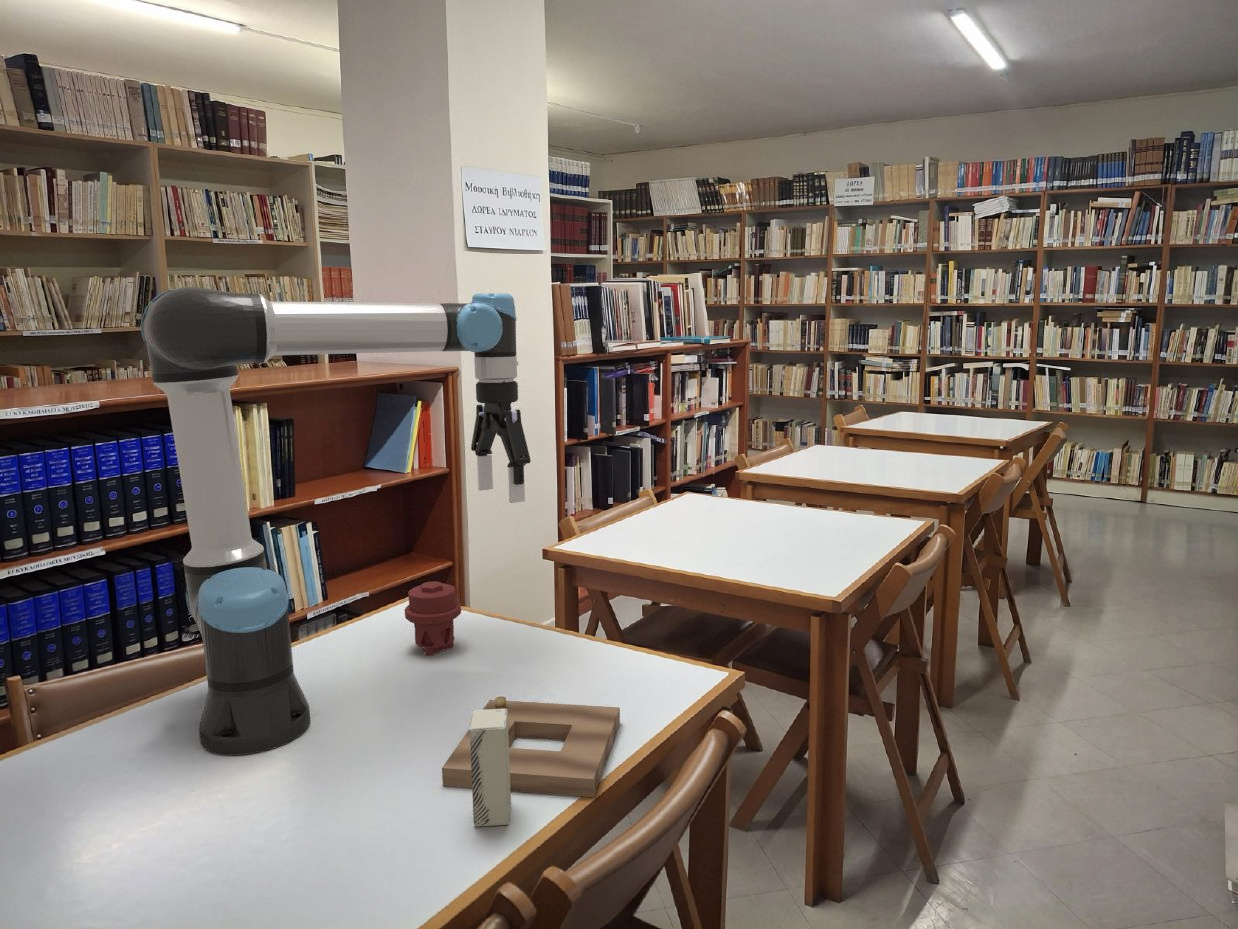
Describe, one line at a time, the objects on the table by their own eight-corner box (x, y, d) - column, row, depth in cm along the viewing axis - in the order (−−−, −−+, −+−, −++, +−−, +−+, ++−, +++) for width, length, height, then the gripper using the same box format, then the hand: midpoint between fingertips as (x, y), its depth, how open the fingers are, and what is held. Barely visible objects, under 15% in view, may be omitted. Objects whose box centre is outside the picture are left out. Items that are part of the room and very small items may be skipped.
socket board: (593, 797, 108) (593, 768, 107) (442, 785, 111) (441, 757, 111) (620, 723, 127) (619, 698, 127) (490, 715, 131) (489, 690, 130)
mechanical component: (471, 640, 161) (450, 661, 151) (421, 637, 163) (397, 658, 153) (467, 577, 159) (446, 594, 149) (417, 575, 161) (393, 592, 151)
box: (476, 804, 107) (471, 708, 105) (512, 802, 107) (508, 706, 105) (473, 829, 102) (467, 728, 99) (510, 827, 102) (506, 726, 100)
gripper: (547, 383, 146) (550, 504, 150) (487, 375, 167) (491, 482, 171) (507, 385, 142) (512, 510, 146) (450, 377, 163) (455, 487, 167)
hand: (500, 495), depth 158 cm, fingers open, 13 cm apart
